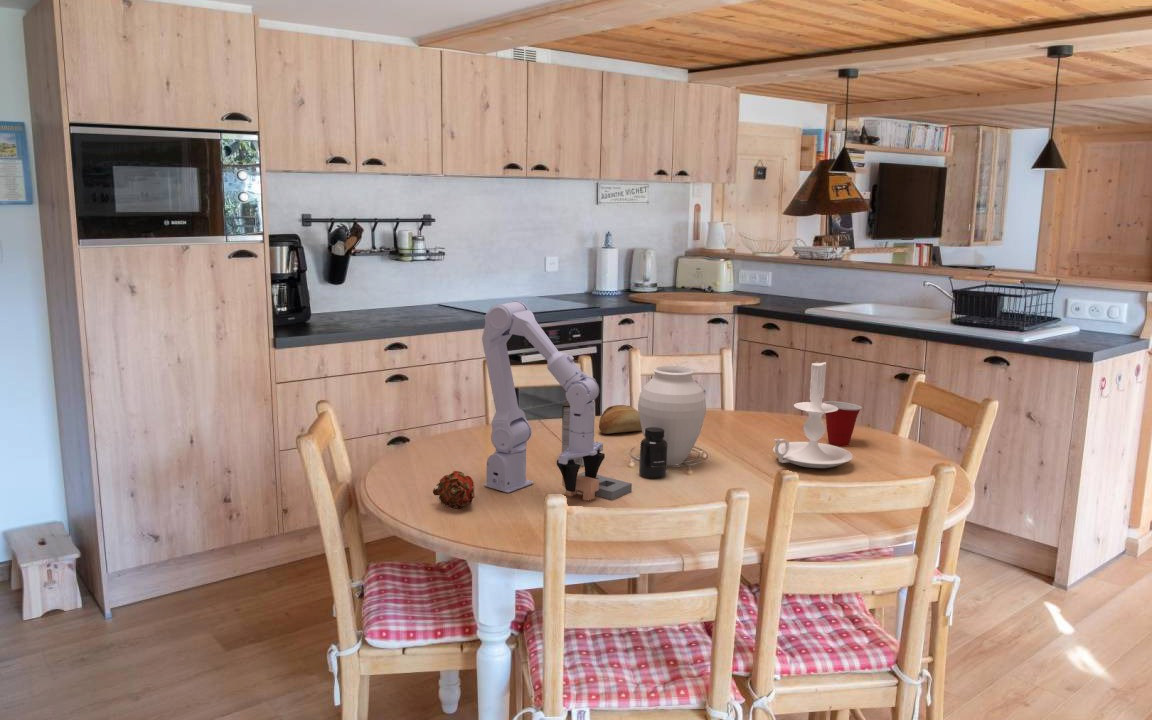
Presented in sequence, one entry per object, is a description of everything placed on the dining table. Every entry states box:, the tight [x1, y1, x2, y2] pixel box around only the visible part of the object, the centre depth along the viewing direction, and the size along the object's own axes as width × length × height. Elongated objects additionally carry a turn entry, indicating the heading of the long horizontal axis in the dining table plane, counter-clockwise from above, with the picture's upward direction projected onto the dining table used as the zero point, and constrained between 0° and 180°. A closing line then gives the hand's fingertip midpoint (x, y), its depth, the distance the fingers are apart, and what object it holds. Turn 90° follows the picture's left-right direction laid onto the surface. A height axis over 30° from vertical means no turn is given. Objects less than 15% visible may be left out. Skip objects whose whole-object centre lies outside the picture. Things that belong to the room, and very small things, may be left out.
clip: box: [561, 473, 599, 502], centre depth 206 cm, size 3×8×5 cm, turn 52°
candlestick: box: [772, 360, 854, 469], centre depth 233 cm, size 21×25×28 cm
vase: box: [637, 365, 707, 466], centre depth 234 cm, size 18×18×25 cm
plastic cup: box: [822, 400, 863, 447], centre depth 256 cm, size 11×11×12 cm
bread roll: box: [598, 404, 642, 435], centre depth 264 cm, size 10×15×8 cm, turn 123°
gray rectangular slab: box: [578, 471, 633, 501], centre depth 212 cm, size 8×14×2 cm, turn 53°
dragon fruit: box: [432, 470, 475, 510], centre depth 199 cm, size 8×8×12 cm
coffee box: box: [561, 399, 592, 467], centre depth 233 cm, size 9×6×16 cm
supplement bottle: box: [638, 427, 668, 480], centre depth 223 cm, size 7×7×12 cm
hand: (580, 486), depth 206 cm, fingers open, 7 cm apart
